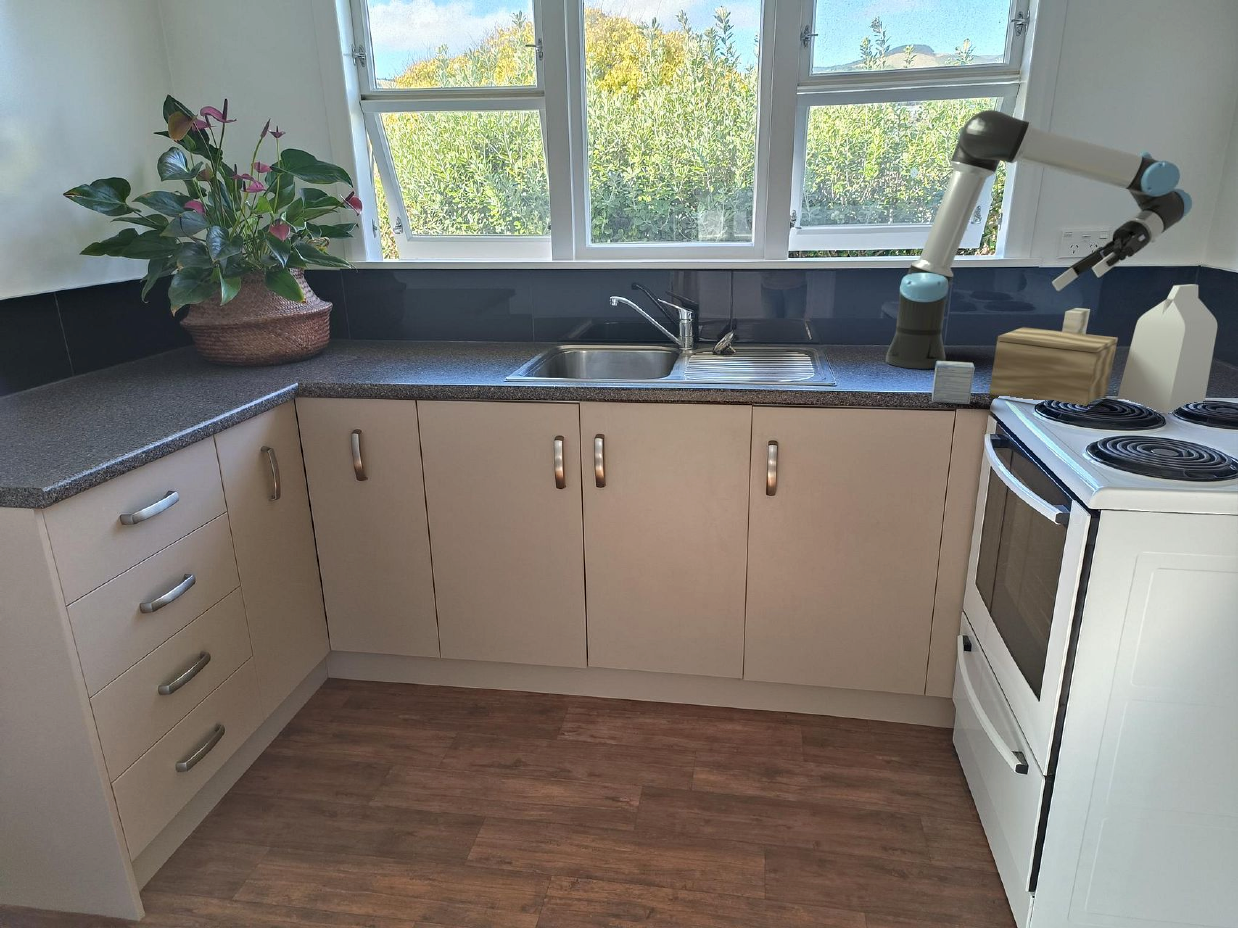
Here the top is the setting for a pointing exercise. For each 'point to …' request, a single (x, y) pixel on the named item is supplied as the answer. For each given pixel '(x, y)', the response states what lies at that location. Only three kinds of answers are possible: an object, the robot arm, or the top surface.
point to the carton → (1050, 373)
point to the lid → (1063, 335)
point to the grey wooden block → (953, 382)
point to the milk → (1171, 353)
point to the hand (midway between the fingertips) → (1074, 279)
